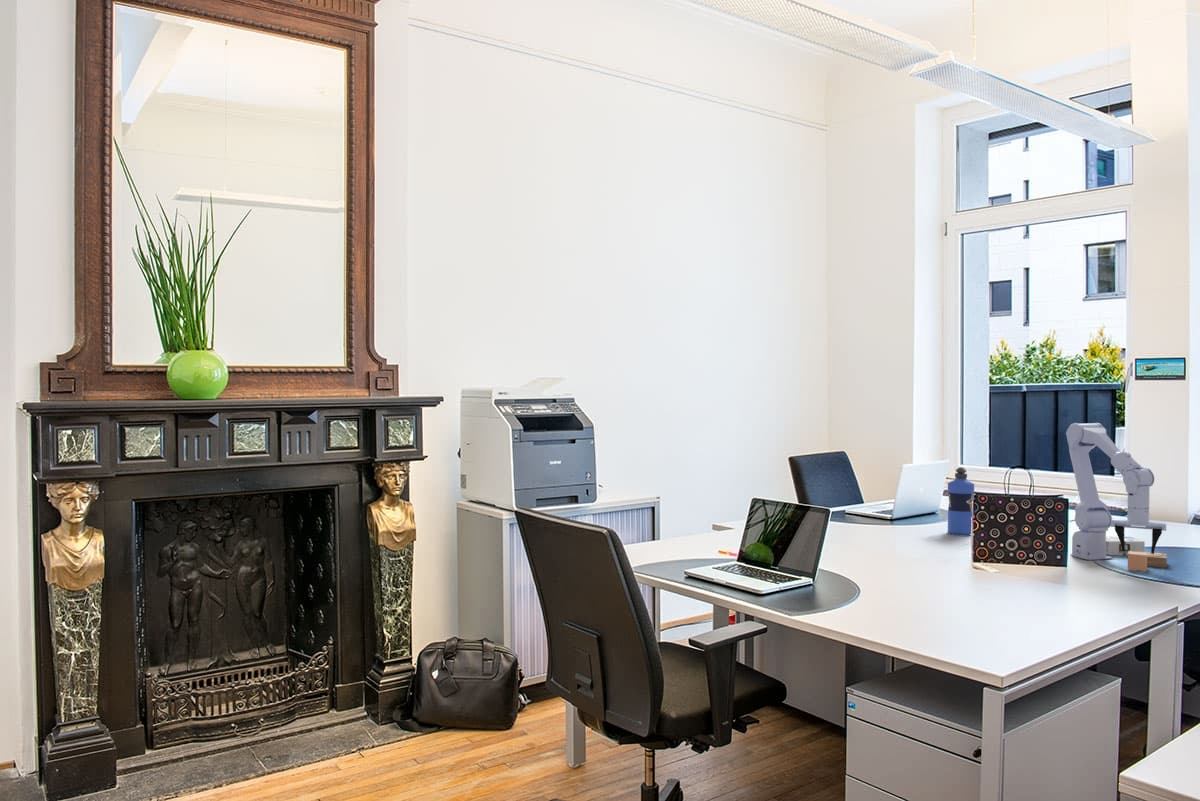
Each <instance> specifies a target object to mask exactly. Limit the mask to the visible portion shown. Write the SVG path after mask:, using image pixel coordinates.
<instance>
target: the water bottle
mask: <svg viewBox="0 0 1200 801" xmlns="http://www.w3.org/2000/svg"><path fill="white" fill-rule="evenodd" d="M967 477H968V474H967V470H966V468H965V467H957V469H955V473H954V479H953V480H951V481H949V482H947V494H948V509H947V534H948V533H950V534H949V535H952V534H954V536H960V535H969V536H971V535H970V534H971V517H972V504H973V503H972V501H974V495H975V494H974V493H975V483H973V482H971V481H969V480H968V479H967ZM969 536H968V537H969Z"/></svg>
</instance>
